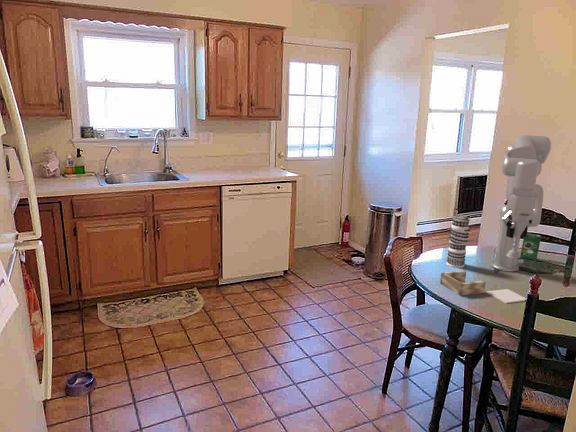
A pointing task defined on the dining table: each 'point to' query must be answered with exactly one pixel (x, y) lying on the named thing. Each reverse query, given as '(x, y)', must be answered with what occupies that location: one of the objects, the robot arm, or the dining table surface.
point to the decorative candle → (458, 241)
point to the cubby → (454, 283)
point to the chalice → (519, 229)
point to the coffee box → (530, 246)
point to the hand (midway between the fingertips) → (516, 236)
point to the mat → (506, 296)
